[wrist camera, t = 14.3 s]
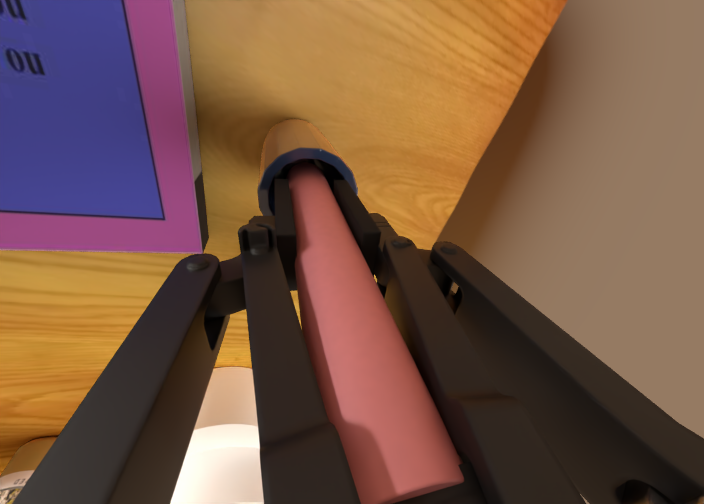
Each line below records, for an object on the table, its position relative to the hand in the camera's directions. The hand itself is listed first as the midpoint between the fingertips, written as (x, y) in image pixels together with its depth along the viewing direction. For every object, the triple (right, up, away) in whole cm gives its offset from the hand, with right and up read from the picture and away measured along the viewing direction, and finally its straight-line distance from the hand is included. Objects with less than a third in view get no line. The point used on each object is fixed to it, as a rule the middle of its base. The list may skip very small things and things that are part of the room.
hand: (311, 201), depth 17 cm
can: (-3, +6, +9) cm, 11 cm away
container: (-18, -30, +29) cm, 45 cm away
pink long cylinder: (-1, +2, +3) cm, 4 cm away
